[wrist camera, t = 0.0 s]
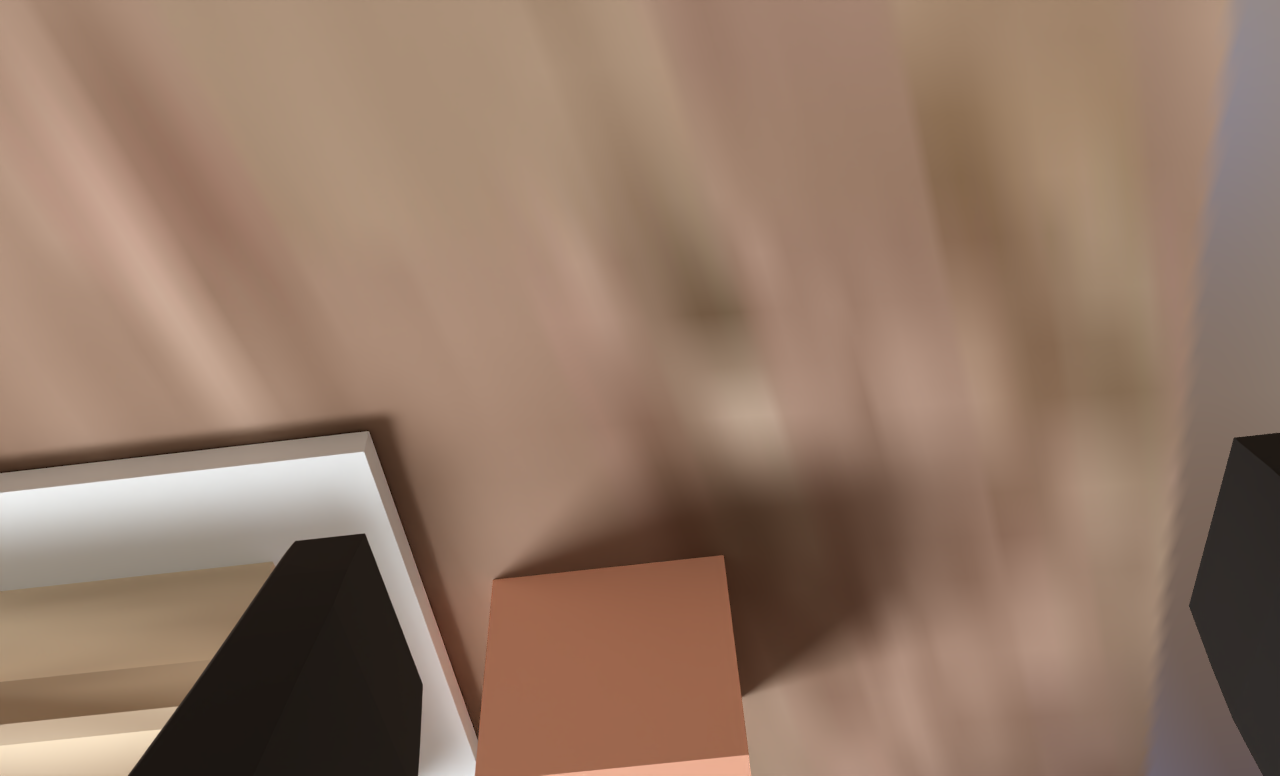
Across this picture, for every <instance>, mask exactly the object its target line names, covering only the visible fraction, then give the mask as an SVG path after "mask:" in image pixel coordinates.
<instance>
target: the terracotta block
mask: <svg viewBox="0 0 1280 776" xmlns="http://www.w3.org/2000/svg"><path fill="white" fill-rule="evenodd" d="M475 776H751V771H750V762H749V753H748V745H747V737H746V729H745V721H744V713H743V705H742V697H741V689H740V681H739V673H738V665H737V657H736V649H735V641H734V633H733V625H732V617H731V609H730V601H729V594H728V586H727V578H726V570H725V562H724V555H720V556H711V557H701V558H692V559H682V560H673V561H664V562H654V563H645V564H636V565H626V566H617V567H608V568H598V569H589V570H580V571H570V572H561V573H552V574H542V575H533V576H524V577H514V578H505V579H496V580H493V586H492V596H491V607H490V618H489V629H488V639H487V650H486V661H485V671H484V682H483V693H482V704H481V714H480V725H479V736H478V747H477V757H476V768H475Z"/></svg>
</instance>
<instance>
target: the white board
mask: <svg viewBox="0 0 1280 776" xmlns="http://www.w3.org/2000/svg"><path fill="white" fill-rule="evenodd" d="M363 533H365V534H366V537H367V540H368V542H369V545H370V547H371V550H372V553H373V555H374V558H375V561H376V563H377V566H378V568H379V571H380V574H381V576H382V579H383V581H384V584H385V587H386V589H387V592H388V594H389V597H390V600H391V602H392V605H393V608H394V610H395V613H396V615H397V618H398V621H399V623H400V626H401V628H402V631H403V634H404V636H405V639H406V642H407V644H408V647H409V649H410V652H411V655H412V657H413V660H414V662H415V665H416V668H417V670H418V673H419V675H420V678H421V681H422V683H423V696H422V717H421V738H420V756H419V770H418V776H475V768H476V757H477V747H478V739H477V737H476V734H475V731H474V728H473V725H472V722H471V720H470V717H469V714H468V711H467V708H466V705H465V703H464V700H463V697H462V694H461V691H460V688H459V686H458V683H457V680H456V677H455V674H454V671H453V668H452V666H451V663H450V660H449V657H448V654H447V651H446V649H445V646H444V643H443V640H442V637H441V634H440V632H439V629H438V626H437V623H436V620H435V617H434V615H433V612H432V609H431V606H430V603H429V600H428V597H427V595H426V592H425V589H424V586H423V583H422V580H421V578H420V575H419V572H418V569H417V566H416V563H415V561H414V558H413V555H412V552H411V549H410V546H409V543H408V541H407V538H406V535H405V532H404V529H403V526H402V524H401V521H400V518H399V515H398V512H397V509H396V507H395V504H394V501H393V498H392V495H391V492H390V490H389V487H388V484H387V481H386V478H385V475H384V472H383V470H382V467H381V464H380V461H379V458H378V455H377V453H376V450H375V447H374V444H373V441H372V438H371V436H370V433H369V431H365V432H356V433H348V434H339V435H330V436H321V437H313V438H304V439H295V440H286V441H278V442H269V443H260V444H251V445H243V446H234V447H225V448H216V449H208V450H199V451H190V452H181V453H173V454H164V455H155V456H146V457H138V458H129V459H120V460H112V461H103V462H94V463H85V464H77V465H68V466H59V467H50V468H42V469H33V470H24V471H15V472H7V473H0V591H8V590H17V589H26V588H35V587H45V586H54V585H63V584H72V583H81V582H91V581H100V580H109V579H118V578H127V577H136V576H146V575H155V574H164V573H173V572H182V571H191V570H201V569H210V568H219V567H228V566H237V565H246V564H256V563H265V562H273V563H274V565H275V567H276V565H277V564H278V563H279V561H280V560H281V558H282V557H283V555H284V554H285V553H286V551H287V550H288V549H289V548H290V546H291V545H292V544H293V543H294V542H295V541H299V540H308V539H317V538H327V537H336V536H345V535H354V534H363Z"/></svg>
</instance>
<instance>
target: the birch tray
mask: <svg viewBox="0 0 1280 776" xmlns="http://www.w3.org/2000/svg"><path fill="white" fill-rule="evenodd" d="M274 568H275V565H274V563H273V562H265V563H256V564H246V565H237V566H228V567H219V568H210V569H201V570H191V571H182V572H173V573H164V574H155V575H146V576H136V577H127V578H118V579H109V580H100V581H91V582H81V583H72V584H63V585H54V586H45V587H35V588H26V589H17V590H8V591H0V776H128V774H129V773H130V772H131V771H132V769H133V768H134V767H135V765H136V764H137V762H138V761H139V760H140V758H141V757H142V756H143V754H144V753H145V751H146V750H147V749H148V747H149V746H150V745H151V743H152V742H153V740H154V739H155V738H156V736H157V735H158V734H159V732H160V731H161V730H162V728H163V727H164V725H165V724H166V723H167V721H168V720H169V719H170V717H171V716H172V714H173V713H174V712H175V710H176V709H177V708H178V706H179V705H180V703H181V702H182V701H183V699H184V698H185V697H186V695H187V694H188V692H189V691H190V690H191V688H192V687H193V685H194V684H195V683H196V681H197V680H198V678H199V677H200V675H201V674H202V673H203V671H204V670H205V668H206V667H207V665H208V664H209V663H210V661H211V660H212V658H213V657H214V655H215V654H216V653H217V651H218V650H219V648H220V647H221V645H222V644H223V643H224V641H225V640H226V638H227V637H228V635H229V634H230V632H231V631H232V629H233V628H234V627H235V625H236V624H237V622H238V621H239V619H240V618H241V616H242V615H243V613H244V612H245V610H246V609H247V608H248V606H249V605H250V603H251V602H252V600H253V599H254V597H255V596H256V594H257V593H258V591H259V590H260V589H261V587H262V586H263V584H264V583H265V581H266V580H267V578H268V577H269V575H270V574H271V573H272V571H273V570H274Z"/></svg>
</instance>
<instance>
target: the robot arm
mask: <svg viewBox="0 0 1280 776" xmlns="http://www.w3.org/2000/svg"><path fill="white" fill-rule="evenodd" d="M1189 607H1190V610H1191V612H1192V615H1193V618H1194V620H1195V623H1196V626H1197V629H1198V631H1199V634H1200V636H1201V639H1202V642H1203V644H1204V647H1205V650H1206V653H1207V655H1208V658H1209V661H1210V663H1211V666H1212V669H1213V671H1214V674H1215V676H1216V679H1217V681H1218V683H1219V686H1220V688H1221V691H1222V693H1223V696H1224V698H1225V701H1226V703H1227V705H1228V708H1229V710H1230V713H1231V715H1232V718H1233V720H1234V722H1235V724H1236V726H1237V727H1238V729H1239V731H1240V733H1241V735H1242V737H1243V739H1244V741H1245V742H1246V745H1247V747H1248V748H1249V750H1250V752H1251V754H1252V756H1253V757H1254V759H1255V761H1256V763H1257V765H1258V767H1259V769H1260V771H1261V773H1262V774H1263V776H1280V433H1273V434H1264V435H1255V436H1247V437H1237V438H1234V439H1233V443H1232V447H1231V451H1230V455H1229V458H1228V462H1227V466H1226V469H1225V473H1224V477H1223V481H1222V485H1221V489H1220V492H1219V496H1218V499H1217V503H1216V507H1215V511H1214V515H1213V518H1212V522H1211V526H1210V530H1209V534H1208V537H1207V541H1206V544H1205V548H1204V552H1203V556H1202V559H1201V563H1200V567H1199V571H1198V574H1197V578H1196V582H1195V586H1194V589H1193V593H1192V597H1191V601H1190V604H1189ZM422 696H423V683H422V681H421V678H420V675H419V673H418V670H417V668H416V665H415V662H414V660H413V657H412V655H411V652H410V649H409V647H408V644H407V642H406V639H405V636H404V634H403V631H402V628H401V626H400V623H399V621H398V618H397V615H396V613H395V610H394V608H393V605H392V602H391V600H390V597H389V594H388V592H387V589H386V587H385V584H384V581H383V579H382V576H381V574H380V571H379V568H378V566H377V563H376V561H375V558H374V555H373V553H372V550H371V547H370V545H369V542H368V540H367V537H366V534H365V533H363V534H354V535H345V536H336V537H327V538H317V539H308V540H299V541H295V542H294V543H293V544H292V545H291V546H290V548H289V549H288V550H287V551H286V553H285V554H284V555H283V557H282V558H281V560H280V561H279V563H278V564H277V565H276V567H275V568H274V570H273V571H272V573H271V574H270V575H269V577H268V578H267V580H266V581H265V583H264V584H263V586H262V587H261V589H260V590H259V591H258V593H257V594H256V596H255V597H254V599H253V600H252V602H251V603H250V605H249V606H248V608H247V609H246V610H245V612H244V613H243V615H242V616H241V618H240V619H239V621H238V622H237V624H236V625H235V627H234V628H233V629H232V631H231V632H230V634H229V635H228V637H227V638H226V640H225V641H224V643H223V644H222V645H221V647H220V648H219V650H218V651H217V653H216V654H215V655H214V657H213V658H212V660H211V661H210V663H209V664H208V665H207V667H206V668H205V670H204V671H203V673H202V674H201V675H200V677H199V678H198V680H197V681H196V683H195V684H194V685H193V687H192V688H191V690H190V691H189V692H188V694H187V695H186V697H185V698H184V699H183V701H182V702H181V703H180V705H179V706H178V708H177V709H176V710H175V712H174V713H173V714H172V716H171V717H170V719H169V720H168V721H167V723H166V724H165V725H164V727H163V728H162V730H161V731H160V732H159V734H158V735H157V736H156V738H155V739H154V740H153V742H152V743H151V745H150V746H149V747H148V749H147V750H146V751H145V753H144V754H143V756H142V757H141V758H140V760H139V761H138V762H137V764H136V765H135V767H134V768H133V769H132V771H131V772H130V773H129V774H128V776H418V770H419V756H420V738H421V717H422Z"/></svg>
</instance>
